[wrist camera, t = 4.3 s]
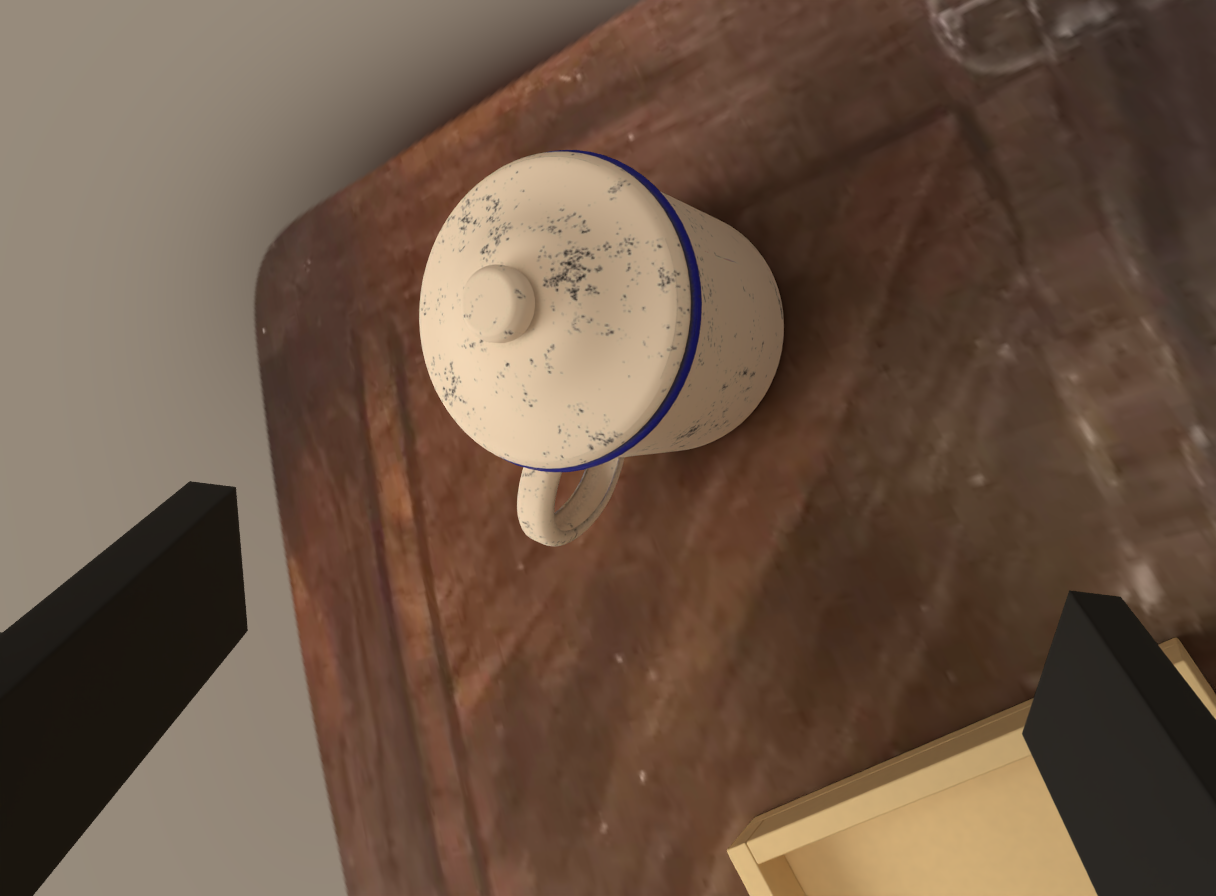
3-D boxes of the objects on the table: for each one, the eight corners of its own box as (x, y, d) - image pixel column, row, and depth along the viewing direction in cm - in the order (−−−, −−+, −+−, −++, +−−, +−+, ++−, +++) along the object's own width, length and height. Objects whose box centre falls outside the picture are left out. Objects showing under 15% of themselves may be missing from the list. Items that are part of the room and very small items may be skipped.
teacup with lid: (598, 186, 35) (389, 96, 25) (826, 233, 31) (691, 148, 21) (526, 486, 37) (306, 518, 27) (731, 566, 33) (565, 640, 23)
